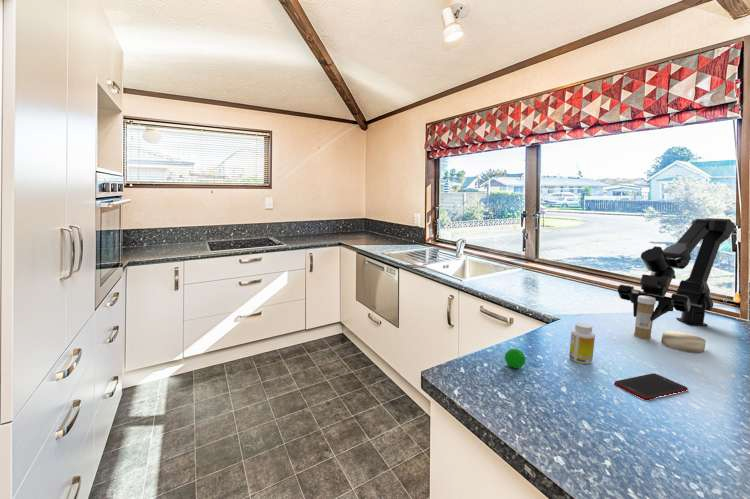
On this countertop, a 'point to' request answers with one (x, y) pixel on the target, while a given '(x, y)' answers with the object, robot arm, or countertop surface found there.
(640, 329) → the sprinkles bottle
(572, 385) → the countertop surface
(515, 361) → the green ball
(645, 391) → the cell phone
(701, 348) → the round beige base
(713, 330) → the countertop surface
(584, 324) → the supplement bottle
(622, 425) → the countertop surface
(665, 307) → the robot arm
